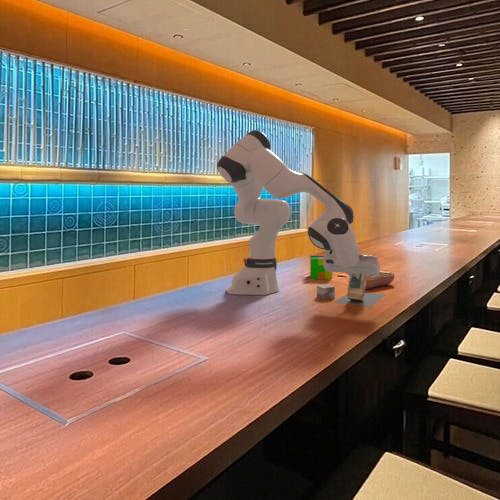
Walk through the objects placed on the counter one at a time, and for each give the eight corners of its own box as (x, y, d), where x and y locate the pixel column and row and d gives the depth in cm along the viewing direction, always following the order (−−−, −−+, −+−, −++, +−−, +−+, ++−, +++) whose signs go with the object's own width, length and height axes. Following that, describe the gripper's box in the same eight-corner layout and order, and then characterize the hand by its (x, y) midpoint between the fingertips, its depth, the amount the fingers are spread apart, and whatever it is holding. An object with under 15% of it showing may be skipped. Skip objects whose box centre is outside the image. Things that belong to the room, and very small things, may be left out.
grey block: (323, 300, 181) (324, 288, 180) (316, 298, 186) (316, 285, 185) (334, 299, 183) (334, 286, 183) (327, 296, 188) (327, 284, 187)
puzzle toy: (330, 275, 234) (330, 255, 233) (332, 279, 224) (332, 258, 223) (310, 275, 235) (310, 255, 234) (311, 279, 225) (311, 258, 224)
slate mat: (370, 307, 169) (370, 306, 169) (333, 303, 176) (333, 302, 176) (385, 295, 188) (385, 294, 188) (351, 292, 195) (351, 291, 195)
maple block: (359, 299, 173) (364, 262, 176) (346, 297, 175) (351, 261, 178) (363, 301, 177) (368, 265, 180) (350, 300, 180) (355, 264, 182)
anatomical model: (366, 292, 195) (366, 280, 195) (347, 288, 203) (347, 277, 202) (398, 285, 209) (398, 274, 209) (379, 282, 217) (380, 271, 216)
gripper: (378, 249, 162) (385, 272, 172) (323, 246, 172) (332, 268, 182) (375, 263, 159) (381, 286, 168) (318, 259, 169) (327, 281, 179)
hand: (355, 277), depth 175 cm, fingers closed
